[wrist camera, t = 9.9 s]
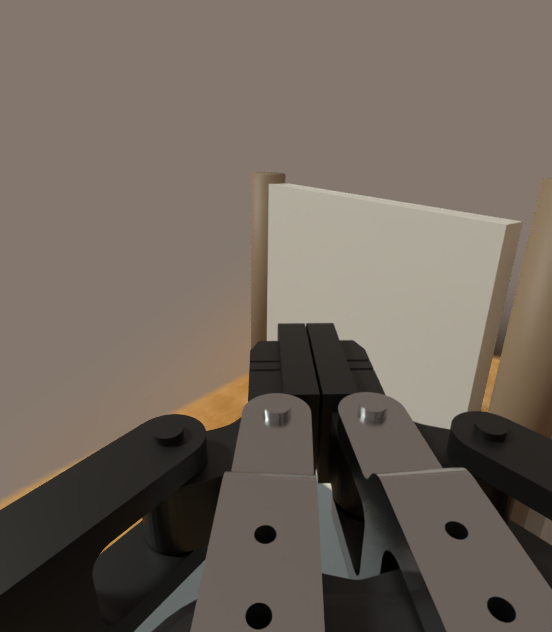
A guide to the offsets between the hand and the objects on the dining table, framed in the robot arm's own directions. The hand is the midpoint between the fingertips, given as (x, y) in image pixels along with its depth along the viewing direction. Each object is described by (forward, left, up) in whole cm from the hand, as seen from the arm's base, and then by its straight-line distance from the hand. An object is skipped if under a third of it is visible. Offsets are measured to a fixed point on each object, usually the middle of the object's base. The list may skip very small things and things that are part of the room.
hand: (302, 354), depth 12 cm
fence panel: (-8, -4, -11) cm, 14 cm away
